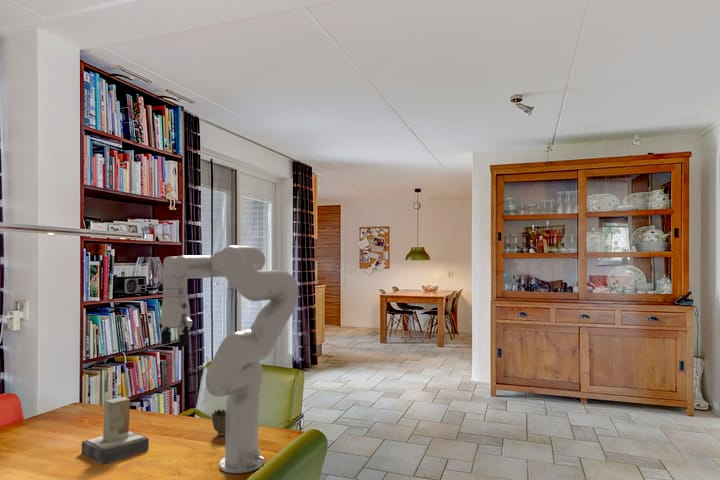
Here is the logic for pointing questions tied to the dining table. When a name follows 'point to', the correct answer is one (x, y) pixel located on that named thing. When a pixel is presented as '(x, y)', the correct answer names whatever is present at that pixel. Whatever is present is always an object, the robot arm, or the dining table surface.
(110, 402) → the skincare box
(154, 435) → the dining table surface
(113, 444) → the plinth
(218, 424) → the cup
